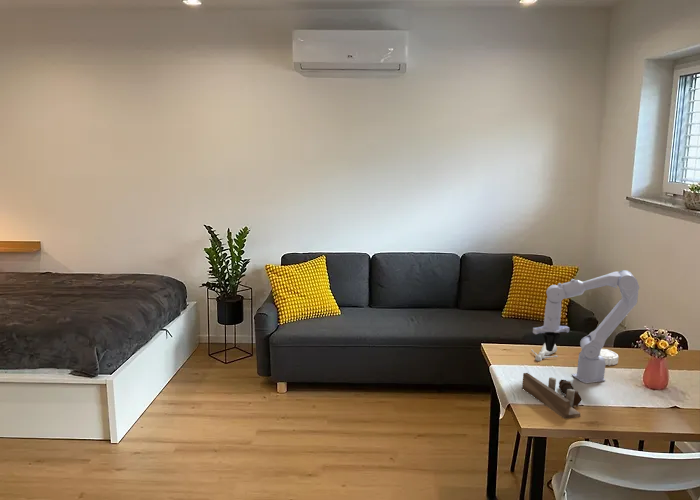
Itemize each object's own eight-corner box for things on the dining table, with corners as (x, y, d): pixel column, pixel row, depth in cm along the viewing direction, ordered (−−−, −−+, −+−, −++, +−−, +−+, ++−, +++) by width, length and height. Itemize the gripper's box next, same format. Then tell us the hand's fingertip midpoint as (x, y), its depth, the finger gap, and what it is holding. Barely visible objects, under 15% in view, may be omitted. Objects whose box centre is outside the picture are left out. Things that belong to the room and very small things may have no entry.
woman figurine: (566, 343, 254) (551, 357, 240) (565, 353, 255) (550, 368, 242) (539, 337, 261) (523, 350, 247) (538, 346, 262) (523, 360, 248)
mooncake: (584, 361, 246) (585, 353, 246) (589, 353, 257) (590, 345, 256) (616, 368, 240) (617, 359, 240) (619, 359, 251) (620, 350, 250)
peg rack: (541, 386, 220) (543, 370, 219) (585, 415, 198) (587, 398, 196) (521, 388, 217) (523, 373, 216) (564, 418, 195) (566, 401, 194)
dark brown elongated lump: (564, 392, 220) (574, 410, 205) (552, 385, 220) (562, 402, 205) (573, 380, 219) (584, 396, 204) (562, 373, 219) (572, 388, 204)
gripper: (541, 320, 222) (537, 355, 225) (575, 318, 226) (571, 353, 228) (531, 315, 229) (528, 348, 231) (564, 313, 232) (561, 346, 235)
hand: (549, 350), depth 230 cm, fingers closed
